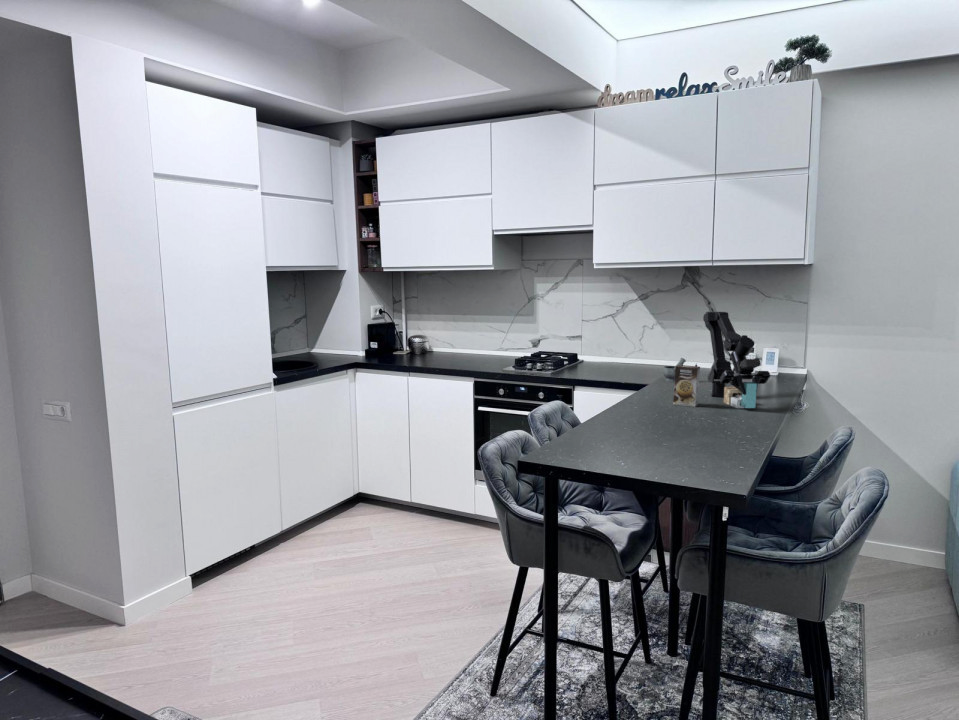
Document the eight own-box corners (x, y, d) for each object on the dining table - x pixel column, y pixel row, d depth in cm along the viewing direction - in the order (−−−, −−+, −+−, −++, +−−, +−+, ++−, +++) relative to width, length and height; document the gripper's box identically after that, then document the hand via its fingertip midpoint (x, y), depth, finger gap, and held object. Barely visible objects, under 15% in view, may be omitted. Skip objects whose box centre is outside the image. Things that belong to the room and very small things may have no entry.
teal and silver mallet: (730, 400, 278) (732, 377, 277) (740, 401, 279) (741, 377, 277) (745, 407, 265) (747, 383, 263) (755, 407, 265) (756, 383, 263)
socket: (723, 402, 282) (724, 386, 281) (740, 402, 282) (741, 386, 281) (728, 404, 277) (729, 389, 276) (745, 404, 277) (746, 389, 276)
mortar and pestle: (659, 381, 333) (660, 357, 331) (664, 378, 341) (665, 355, 340) (682, 383, 328) (684, 359, 326) (686, 380, 336) (687, 357, 334)
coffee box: (672, 404, 276) (674, 366, 273) (675, 402, 281) (677, 364, 279) (695, 407, 271) (697, 367, 269) (698, 404, 277) (700, 365, 275)
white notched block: (730, 405, 276) (731, 397, 275) (745, 405, 276) (746, 397, 276) (736, 408, 270) (737, 399, 269) (752, 408, 270) (752, 400, 270)
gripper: (724, 350, 267) (734, 382, 258) (770, 351, 268) (781, 382, 259) (715, 367, 276) (724, 398, 267) (759, 367, 277) (770, 398, 267)
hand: (750, 394), depth 265 cm, fingers closed on teal and silver mallet, 4 cm apart
